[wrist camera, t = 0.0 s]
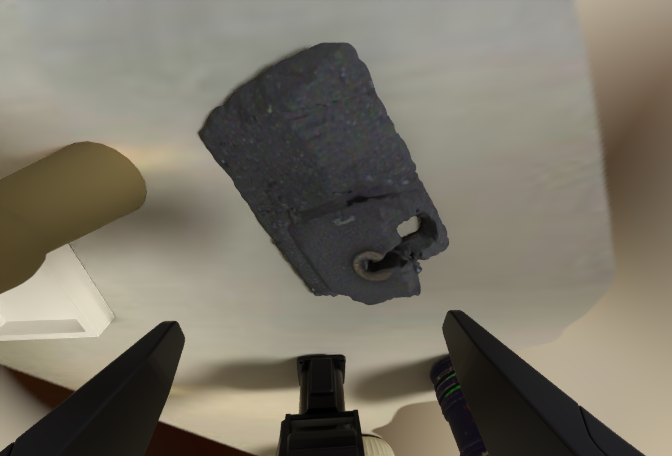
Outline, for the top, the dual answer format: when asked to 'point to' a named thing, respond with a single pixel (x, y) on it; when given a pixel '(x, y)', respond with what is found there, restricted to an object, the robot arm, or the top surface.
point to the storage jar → (456, 409)
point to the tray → (54, 302)
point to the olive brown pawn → (62, 204)
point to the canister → (376, 447)
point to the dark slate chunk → (328, 175)
